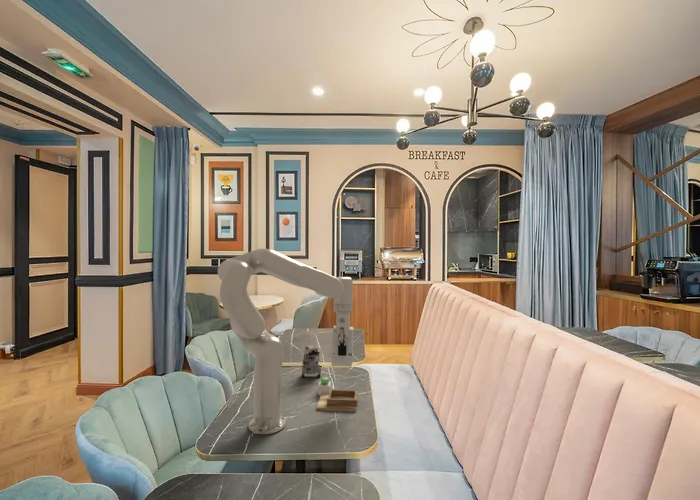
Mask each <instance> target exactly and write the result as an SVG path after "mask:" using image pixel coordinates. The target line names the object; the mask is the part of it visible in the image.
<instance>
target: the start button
mask: <svg viewBox="0 0 700 500" xmlns="http://www.w3.org/2000/svg"><path fill="white" fill-rule="evenodd" d="M320 381H321V383H322V384H327V383H329V381H330V378H329V377H327V376H323V377H320Z"/></svg>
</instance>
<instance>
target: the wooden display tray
mask: <svg viewBox="0 0 700 500" xmlns="http://www.w3.org/2000/svg"><path fill="white" fill-rule="evenodd" d="M358 391H359V390H358V389H335V388H334V389H333V388H331V389H330V390H329V394H326V393H321V395H319V400H318V403H317V406H316V411H328V412H329V411H330V412H357V407H358V396H359V393H358Z"/></svg>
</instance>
